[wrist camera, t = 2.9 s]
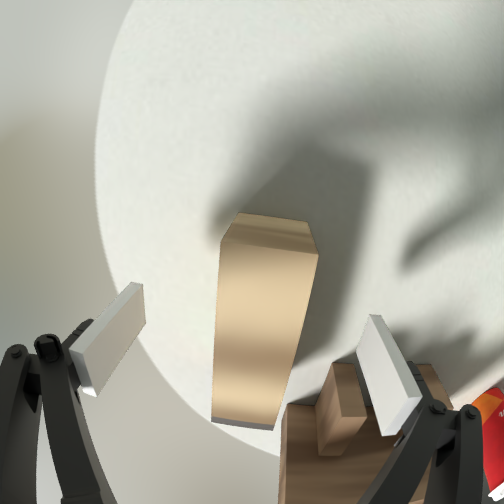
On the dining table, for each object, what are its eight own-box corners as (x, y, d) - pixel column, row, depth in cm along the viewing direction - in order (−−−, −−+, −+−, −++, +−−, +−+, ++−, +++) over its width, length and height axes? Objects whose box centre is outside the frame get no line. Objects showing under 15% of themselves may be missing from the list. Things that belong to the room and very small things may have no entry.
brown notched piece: (300, 360, 22) (304, 549, 8) (450, 363, 22) (512, 488, 7) (281, 420, 26) (273, 562, 11) (414, 419, 25) (446, 531, 10)
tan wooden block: (238, 212, 19) (220, 241, 13) (307, 221, 18) (318, 254, 13) (224, 369, 24) (211, 421, 18) (275, 376, 23) (272, 430, 18)
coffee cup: (506, 396, 24) (544, 467, 10) (462, 429, 26) (491, 505, 12) (504, 370, 22) (553, 453, 8) (453, 409, 24) (490, 501, 10)
